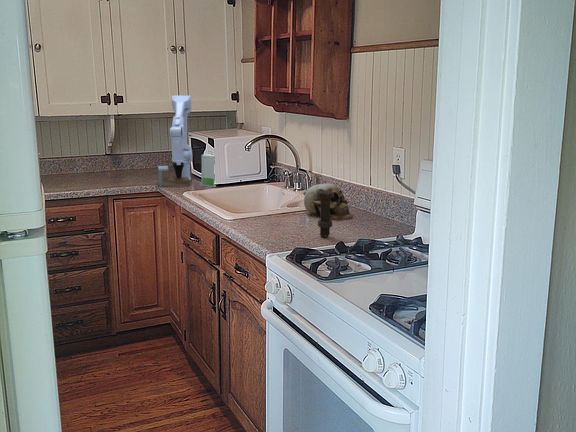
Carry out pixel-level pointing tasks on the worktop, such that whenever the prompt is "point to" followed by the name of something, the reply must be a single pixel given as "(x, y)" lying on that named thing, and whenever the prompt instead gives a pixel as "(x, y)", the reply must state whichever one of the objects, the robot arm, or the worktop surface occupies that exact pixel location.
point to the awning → (160, 169)
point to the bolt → (325, 212)
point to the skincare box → (208, 170)
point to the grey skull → (336, 205)
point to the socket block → (175, 182)
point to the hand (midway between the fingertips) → (178, 177)
